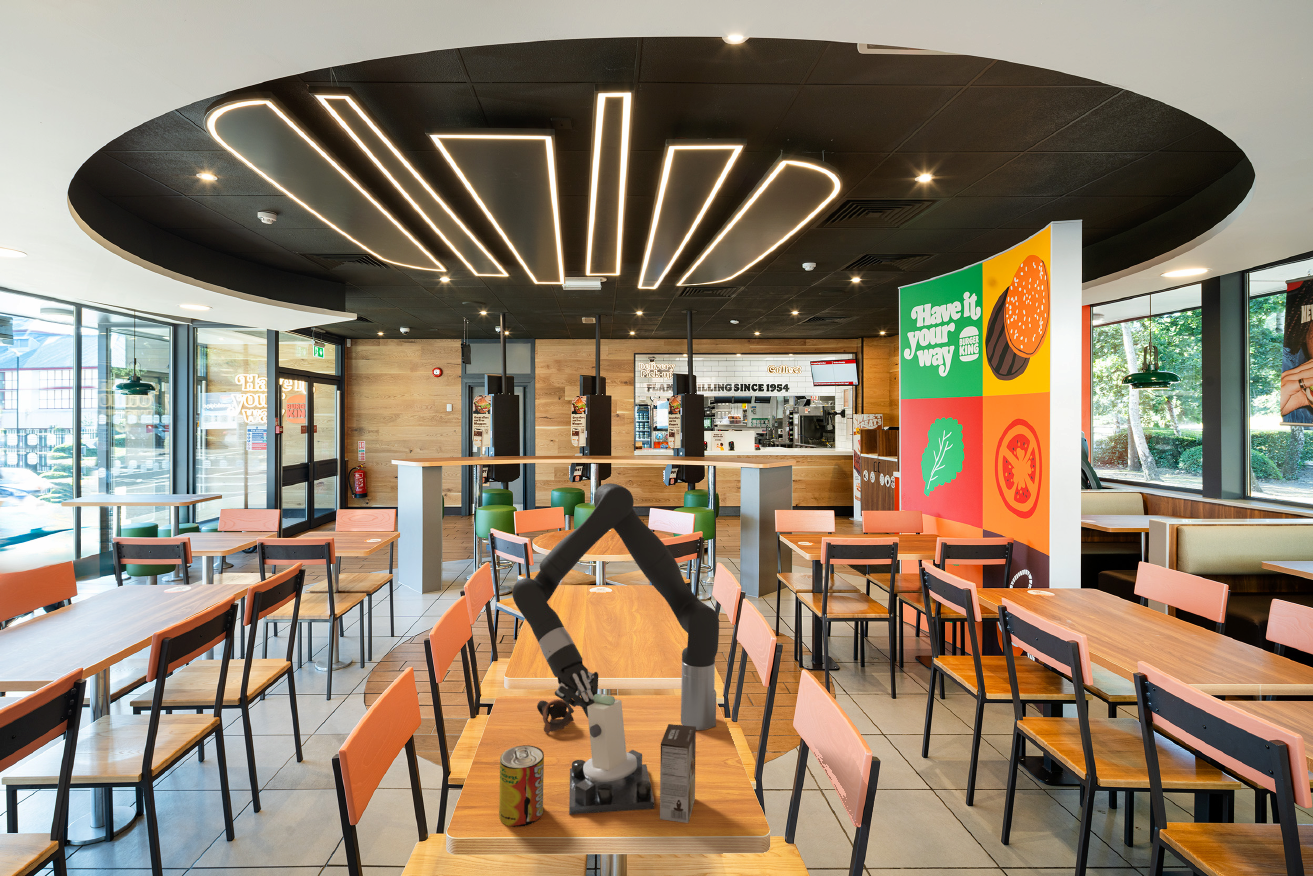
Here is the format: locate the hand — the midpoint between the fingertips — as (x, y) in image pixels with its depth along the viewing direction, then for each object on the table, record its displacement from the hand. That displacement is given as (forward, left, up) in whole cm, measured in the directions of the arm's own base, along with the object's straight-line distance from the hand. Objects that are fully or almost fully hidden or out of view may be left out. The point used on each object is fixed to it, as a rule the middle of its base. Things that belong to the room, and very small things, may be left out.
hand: (595, 718), depth 138 cm
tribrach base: (-3, +3, -15) cm, 16 cm away
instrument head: (-3, +3, -10) cm, 11 cm away
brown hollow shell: (+10, -29, -15) cm, 34 cm away
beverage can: (+16, +9, -15) cm, 24 cm away
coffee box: (-17, +11, -15) cm, 26 cm away
